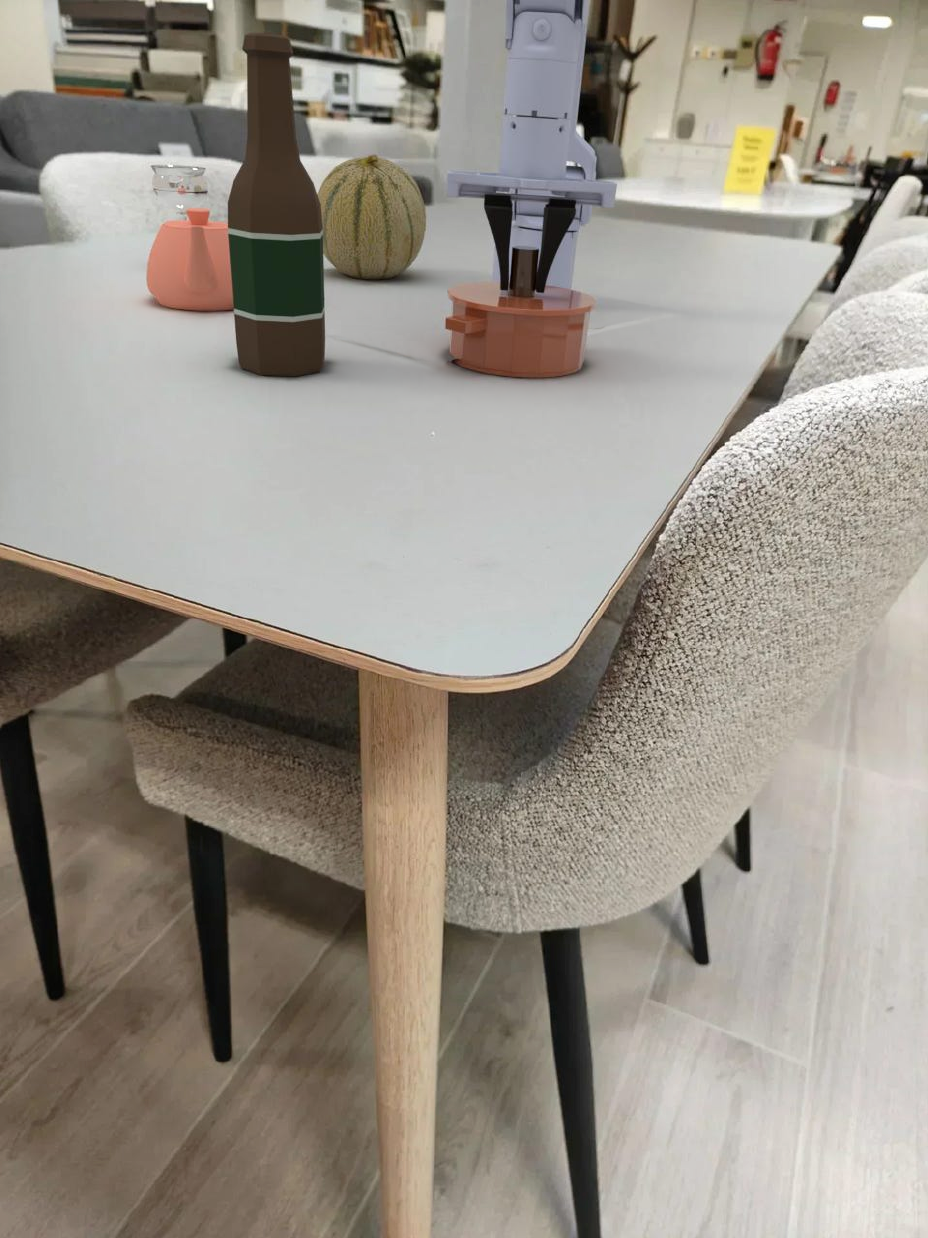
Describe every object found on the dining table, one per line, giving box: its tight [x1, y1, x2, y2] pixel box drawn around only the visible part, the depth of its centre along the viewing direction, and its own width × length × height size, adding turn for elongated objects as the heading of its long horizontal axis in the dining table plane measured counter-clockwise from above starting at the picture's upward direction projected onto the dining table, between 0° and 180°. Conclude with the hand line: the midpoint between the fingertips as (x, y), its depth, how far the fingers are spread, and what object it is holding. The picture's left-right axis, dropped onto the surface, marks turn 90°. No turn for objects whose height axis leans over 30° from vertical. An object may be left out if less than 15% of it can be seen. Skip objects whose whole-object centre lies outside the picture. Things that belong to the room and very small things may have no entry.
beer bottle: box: [227, 32, 326, 377], centre depth 69 cm, size 8×8×24 cm
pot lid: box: [447, 246, 597, 316], centre depth 78 cm, size 14×14×5 cm
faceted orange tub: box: [444, 301, 591, 379], centre depth 80 cm, size 13×18×5 cm
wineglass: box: [150, 164, 209, 220], centre depth 111 cm, size 7×7×12 cm
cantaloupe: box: [317, 154, 427, 281], centre depth 111 cm, size 15×15×15 cm
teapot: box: [146, 207, 234, 312], centre depth 93 cm, size 12×18×10 cm
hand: (521, 289), depth 78 cm, fingers open, 3 cm apart
